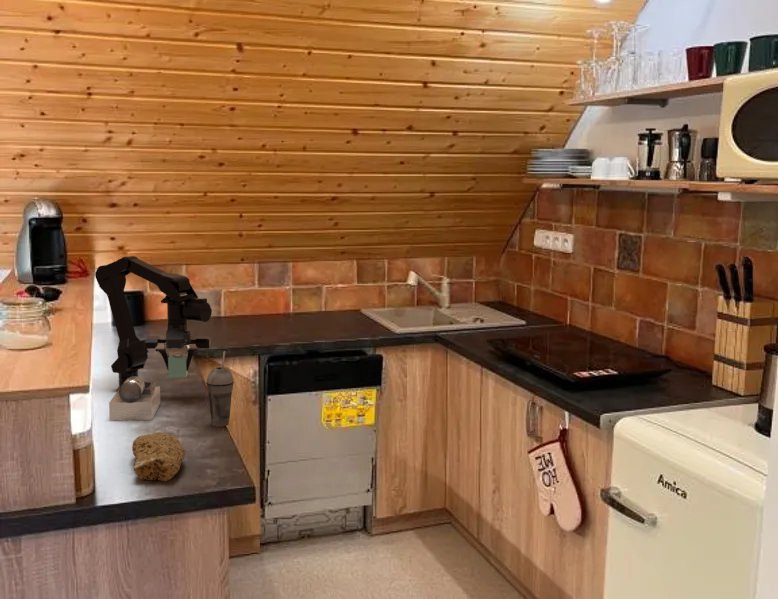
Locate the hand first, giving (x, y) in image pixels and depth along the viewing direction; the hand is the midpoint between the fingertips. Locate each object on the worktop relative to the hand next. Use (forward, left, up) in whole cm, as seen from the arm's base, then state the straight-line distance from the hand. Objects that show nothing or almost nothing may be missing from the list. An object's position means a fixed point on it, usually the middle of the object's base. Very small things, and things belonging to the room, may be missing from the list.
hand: (178, 370), depth 227 cm
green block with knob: (0, 0, -2) cm, 2 cm away
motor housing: (+13, -10, -8) cm, 18 cm away
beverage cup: (+26, +14, -9) cm, 31 cm away
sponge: (+56, +2, -9) cm, 57 cm away
